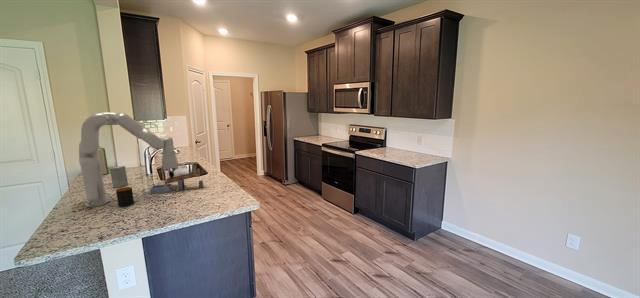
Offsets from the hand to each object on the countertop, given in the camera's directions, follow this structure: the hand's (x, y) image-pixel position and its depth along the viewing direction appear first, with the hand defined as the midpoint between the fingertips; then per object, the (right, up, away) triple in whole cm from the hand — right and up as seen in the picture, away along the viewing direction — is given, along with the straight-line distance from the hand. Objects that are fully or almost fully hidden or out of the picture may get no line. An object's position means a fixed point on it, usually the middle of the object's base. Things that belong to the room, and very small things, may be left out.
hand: (171, 176), depth 207 cm
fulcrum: (+10, -9, -5) cm, 14 cm away
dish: (-3, -10, -8) cm, 13 cm away
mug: (-10, -15, -34) cm, 38 cm away
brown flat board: (+10, 0, -1) cm, 10 cm away
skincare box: (-43, -8, +5) cm, 44 cm away
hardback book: (-90, -2, +43) cm, 99 cm away
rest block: (+23, -8, -1) cm, 24 cm away
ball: (0, -7, -8) cm, 11 cm away
